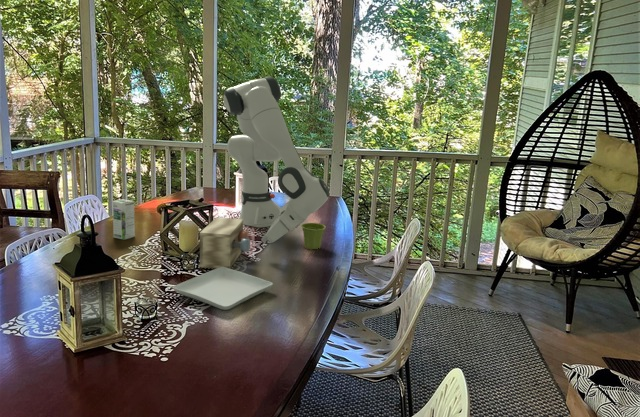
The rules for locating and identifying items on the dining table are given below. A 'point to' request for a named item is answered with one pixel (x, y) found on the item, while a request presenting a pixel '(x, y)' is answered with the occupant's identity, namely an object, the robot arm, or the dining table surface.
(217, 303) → the salad plate
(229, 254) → the cardboard box
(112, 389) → the dining table surface
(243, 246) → the blue grey rounded piece
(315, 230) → the plant pot
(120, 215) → the syrup box
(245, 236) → the button brick
